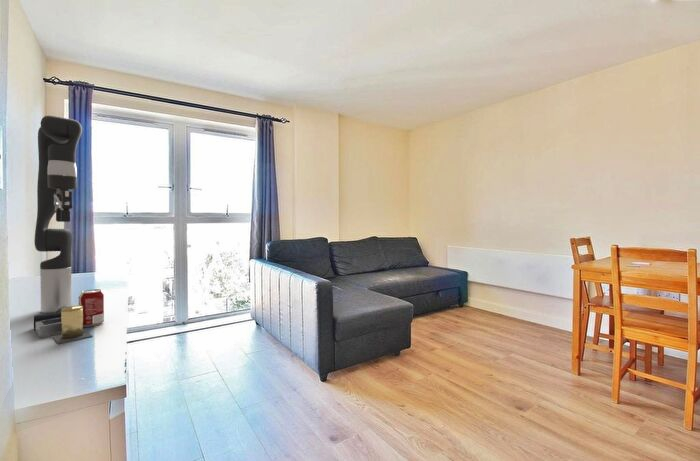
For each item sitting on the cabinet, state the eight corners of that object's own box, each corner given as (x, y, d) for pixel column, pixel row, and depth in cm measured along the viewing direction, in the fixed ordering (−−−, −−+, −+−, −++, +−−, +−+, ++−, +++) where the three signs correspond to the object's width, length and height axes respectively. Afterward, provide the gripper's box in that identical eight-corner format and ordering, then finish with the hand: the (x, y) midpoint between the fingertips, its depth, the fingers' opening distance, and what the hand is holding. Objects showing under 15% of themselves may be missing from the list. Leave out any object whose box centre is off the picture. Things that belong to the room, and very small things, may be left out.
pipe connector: (36, 309, 111) (91, 302, 121) (36, 324, 111) (91, 316, 121) (33, 317, 102) (92, 309, 112) (33, 333, 103) (93, 323, 113)
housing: (35, 332, 102) (35, 321, 102) (68, 326, 108) (68, 316, 108) (39, 338, 97) (39, 326, 97) (73, 331, 103) (73, 320, 103)
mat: (52, 338, 97) (52, 336, 97) (85, 331, 103) (85, 330, 103) (57, 344, 92) (57, 342, 92) (92, 336, 98) (92, 335, 98)
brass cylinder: (60, 336, 97) (59, 307, 97) (80, 332, 101) (80, 304, 101) (63, 340, 94) (63, 310, 94) (84, 335, 98) (84, 307, 98)
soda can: (107, 323, 111) (107, 290, 111) (84, 329, 105) (84, 293, 105) (97, 320, 114) (97, 288, 114) (74, 326, 108) (74, 291, 108)
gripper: (44, 175, 111) (44, 221, 111) (51, 171, 102) (52, 221, 102) (71, 178, 117) (72, 221, 117) (81, 174, 108) (81, 221, 108)
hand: (62, 221), depth 110 cm, fingers open, 8 cm apart
